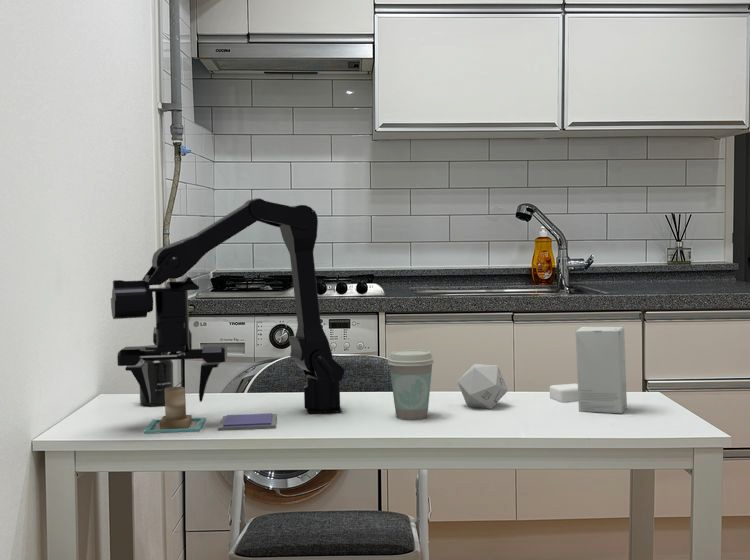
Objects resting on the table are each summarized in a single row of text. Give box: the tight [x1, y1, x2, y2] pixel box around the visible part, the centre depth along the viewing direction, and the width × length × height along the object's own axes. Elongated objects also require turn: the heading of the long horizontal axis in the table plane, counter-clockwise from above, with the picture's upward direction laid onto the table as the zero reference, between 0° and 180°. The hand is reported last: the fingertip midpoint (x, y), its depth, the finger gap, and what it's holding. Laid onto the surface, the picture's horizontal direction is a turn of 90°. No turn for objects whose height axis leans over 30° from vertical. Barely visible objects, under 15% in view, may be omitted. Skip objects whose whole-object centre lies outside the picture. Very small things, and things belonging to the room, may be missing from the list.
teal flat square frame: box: [143, 417, 207, 434], centre depth 151 cm, size 10×10×1 cm
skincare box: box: [575, 326, 628, 414], centre depth 157 cm, size 8×7×16 cm
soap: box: [549, 382, 578, 403], centre depth 169 cm, size 9×6×3 cm, turn 105°
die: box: [456, 363, 509, 410], centre depth 164 cm, size 8×9×10 cm
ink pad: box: [217, 412, 278, 431], centre depth 153 cm, size 10×10×1 cm
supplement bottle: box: [139, 344, 175, 406], centre depth 173 cm, size 7×7×12 cm
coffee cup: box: [387, 349, 435, 421], centre depth 155 cm, size 9×8×12 cm
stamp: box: [159, 386, 193, 430], centre depth 151 cm, size 5×5×7 cm
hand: (175, 402), depth 151 cm, fingers open, 9 cm apart
